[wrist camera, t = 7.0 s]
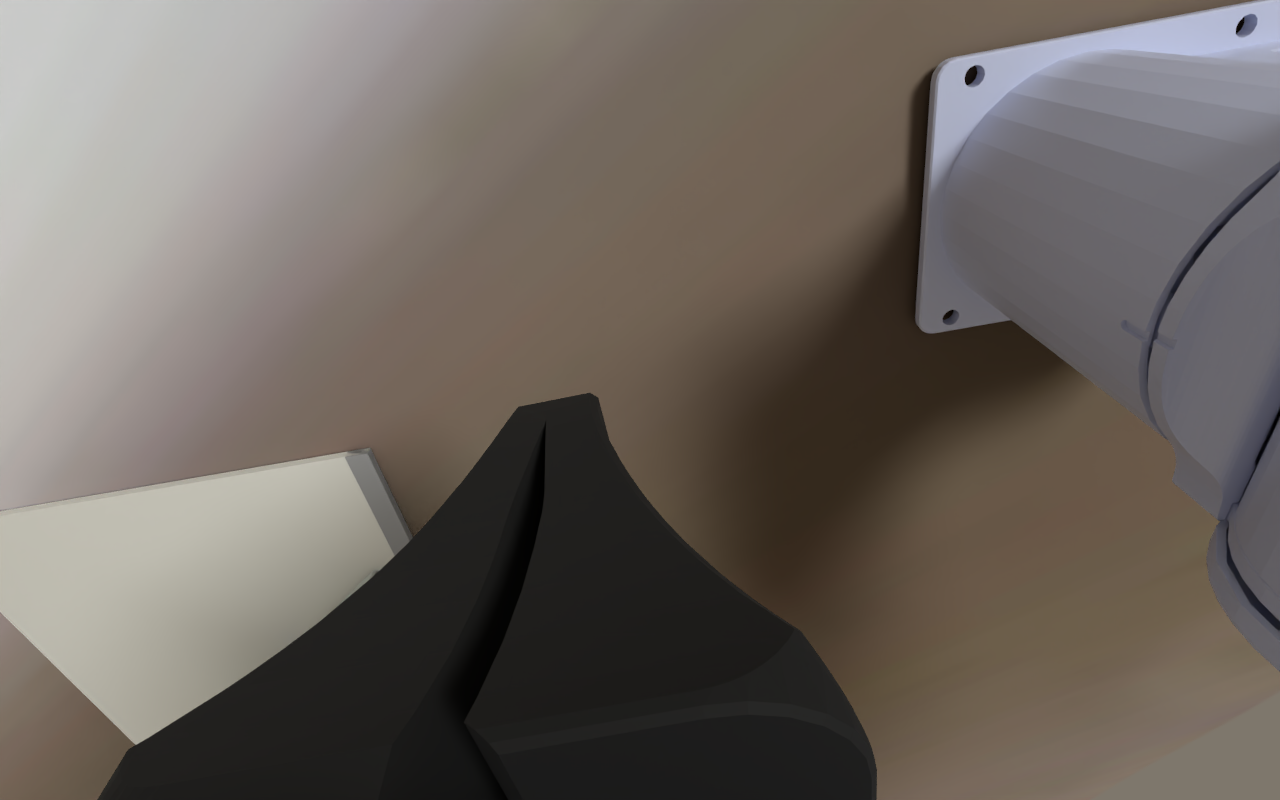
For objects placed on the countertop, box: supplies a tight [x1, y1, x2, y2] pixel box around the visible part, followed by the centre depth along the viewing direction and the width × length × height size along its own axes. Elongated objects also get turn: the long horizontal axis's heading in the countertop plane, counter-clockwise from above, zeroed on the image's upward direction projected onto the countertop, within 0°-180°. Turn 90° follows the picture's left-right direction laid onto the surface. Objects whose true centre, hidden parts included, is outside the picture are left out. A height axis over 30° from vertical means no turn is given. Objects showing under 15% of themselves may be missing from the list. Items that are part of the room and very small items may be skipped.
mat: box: [0, 448, 413, 745], centre depth 27 cm, size 16×14×1 cm
